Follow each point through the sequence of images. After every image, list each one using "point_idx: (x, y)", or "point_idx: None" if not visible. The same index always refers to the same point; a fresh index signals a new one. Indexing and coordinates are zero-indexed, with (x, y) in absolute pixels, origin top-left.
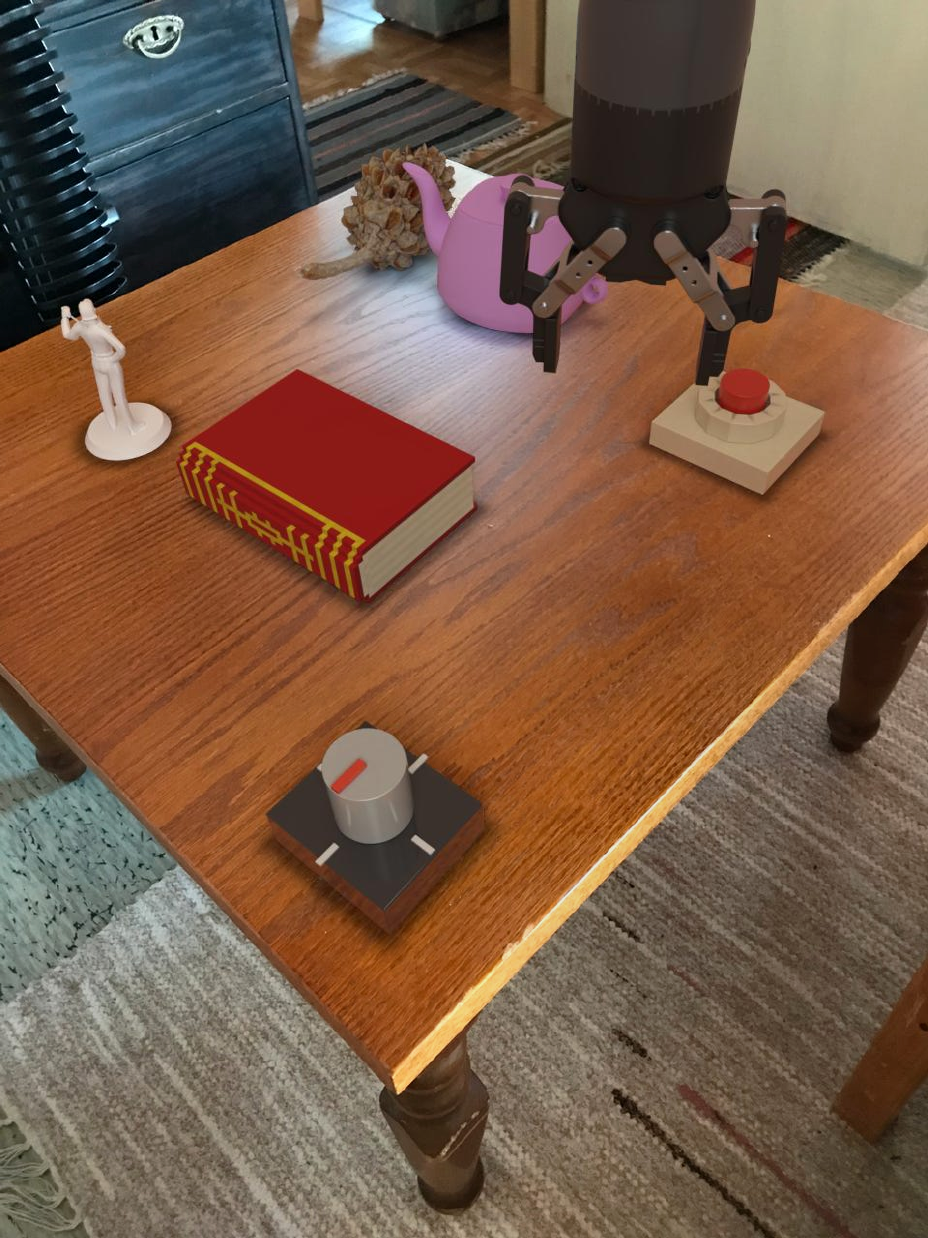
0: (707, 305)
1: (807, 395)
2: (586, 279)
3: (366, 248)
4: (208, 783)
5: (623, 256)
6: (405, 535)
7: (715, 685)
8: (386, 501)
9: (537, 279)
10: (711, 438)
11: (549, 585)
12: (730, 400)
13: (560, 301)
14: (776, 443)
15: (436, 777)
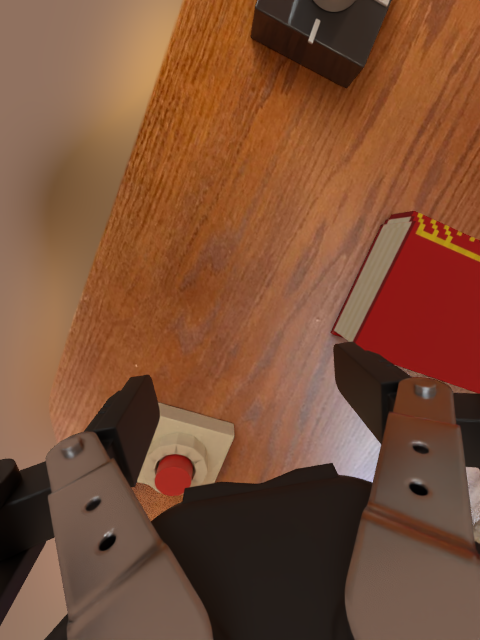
0: (92, 465)
1: (144, 494)
2: (389, 442)
3: (477, 541)
4: (451, 17)
5: (318, 541)
6: (380, 267)
7: (134, 222)
8: (408, 281)
9: (466, 449)
10: (190, 432)
11: (265, 278)
12: (180, 463)
13: (402, 403)
14: None
15: (296, 24)
